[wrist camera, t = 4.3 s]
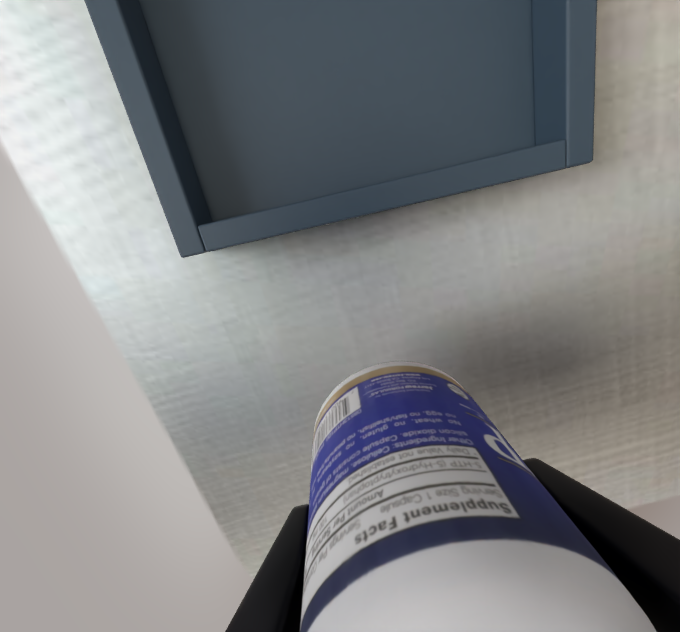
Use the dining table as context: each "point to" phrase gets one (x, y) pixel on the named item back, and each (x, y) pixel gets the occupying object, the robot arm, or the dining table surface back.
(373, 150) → the tray
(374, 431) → the pill bottle
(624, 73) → the dining table surface
